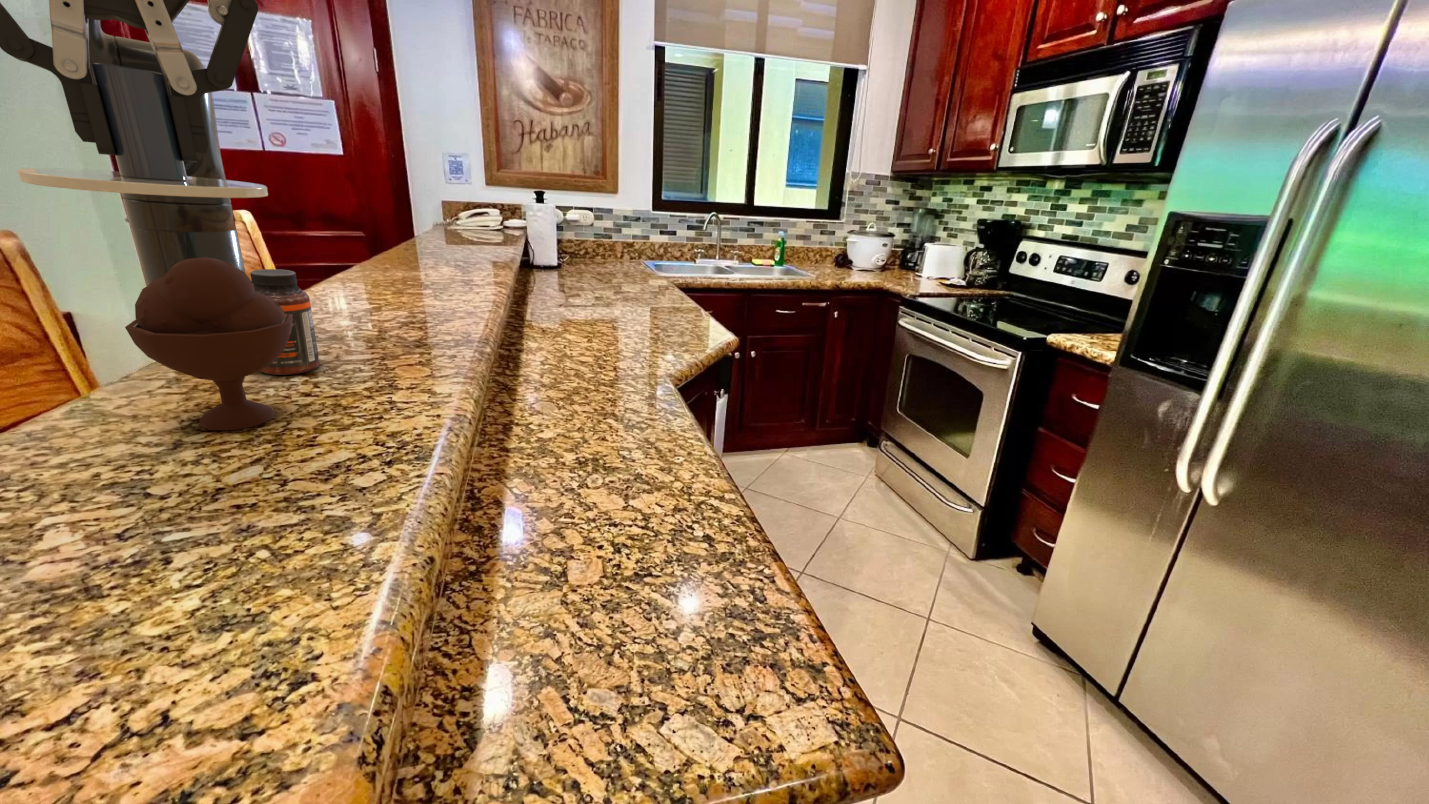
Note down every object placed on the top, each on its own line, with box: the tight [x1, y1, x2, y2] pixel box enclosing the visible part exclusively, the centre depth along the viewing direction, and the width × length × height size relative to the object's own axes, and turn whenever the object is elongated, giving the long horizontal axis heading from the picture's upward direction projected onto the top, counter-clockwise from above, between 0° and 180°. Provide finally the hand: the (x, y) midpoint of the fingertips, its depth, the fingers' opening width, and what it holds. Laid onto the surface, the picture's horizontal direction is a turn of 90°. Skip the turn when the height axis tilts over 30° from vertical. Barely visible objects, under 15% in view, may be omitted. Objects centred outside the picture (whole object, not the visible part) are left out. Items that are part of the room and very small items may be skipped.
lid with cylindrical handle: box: [17, 63, 269, 199], centre depth 33 cm, size 11×11×7 cm
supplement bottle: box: [250, 268, 320, 376], centre depth 63 cm, size 6×6×11 cm
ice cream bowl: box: [124, 258, 293, 431], centre depth 49 cm, size 11×11×15 cm
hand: (149, 156), depth 34 cm, fingers closed on lid with cylindrical handle, 3 cm apart
